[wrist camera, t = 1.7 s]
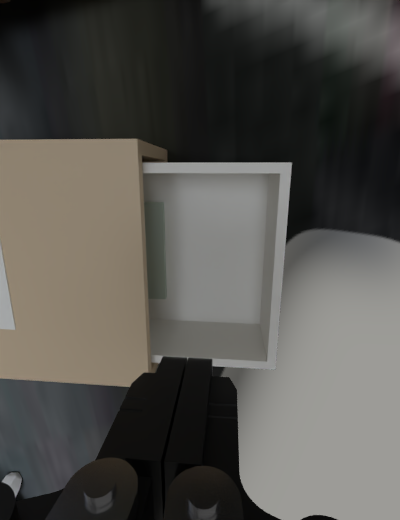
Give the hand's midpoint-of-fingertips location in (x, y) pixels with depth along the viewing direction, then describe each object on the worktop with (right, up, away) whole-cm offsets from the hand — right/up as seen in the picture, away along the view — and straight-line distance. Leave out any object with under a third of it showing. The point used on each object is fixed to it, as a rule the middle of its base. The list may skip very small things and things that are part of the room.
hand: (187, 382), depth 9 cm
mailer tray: (-3, +5, +17) cm, 18 cm away
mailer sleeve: (-12, +5, +19) cm, 23 cm away
